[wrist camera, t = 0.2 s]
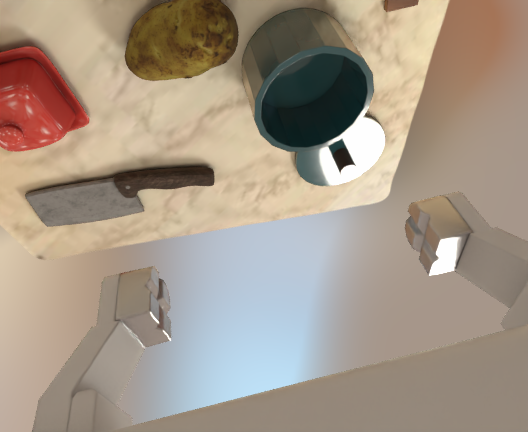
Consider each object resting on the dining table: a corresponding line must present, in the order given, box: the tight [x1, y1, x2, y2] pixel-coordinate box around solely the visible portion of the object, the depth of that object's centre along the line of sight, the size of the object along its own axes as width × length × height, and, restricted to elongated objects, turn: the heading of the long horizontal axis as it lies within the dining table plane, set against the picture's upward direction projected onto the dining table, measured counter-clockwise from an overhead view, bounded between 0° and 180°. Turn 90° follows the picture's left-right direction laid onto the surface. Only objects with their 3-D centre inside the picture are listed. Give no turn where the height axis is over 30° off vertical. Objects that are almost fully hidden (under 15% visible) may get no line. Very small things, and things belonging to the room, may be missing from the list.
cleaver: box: [25, 167, 214, 227], centre depth 62 cm, size 30×10×2 cm, turn 94°
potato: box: [125, 0, 238, 81], centre depth 41 cm, size 8×13×8 cm, turn 96°
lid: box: [295, 115, 385, 186], centre depth 63 cm, size 15×15×5 cm
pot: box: [242, 8, 374, 152], centre depth 48 cm, size 14×15×9 cm
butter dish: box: [0, 46, 89, 151], centre depth 44 cm, size 12×12×8 cm
